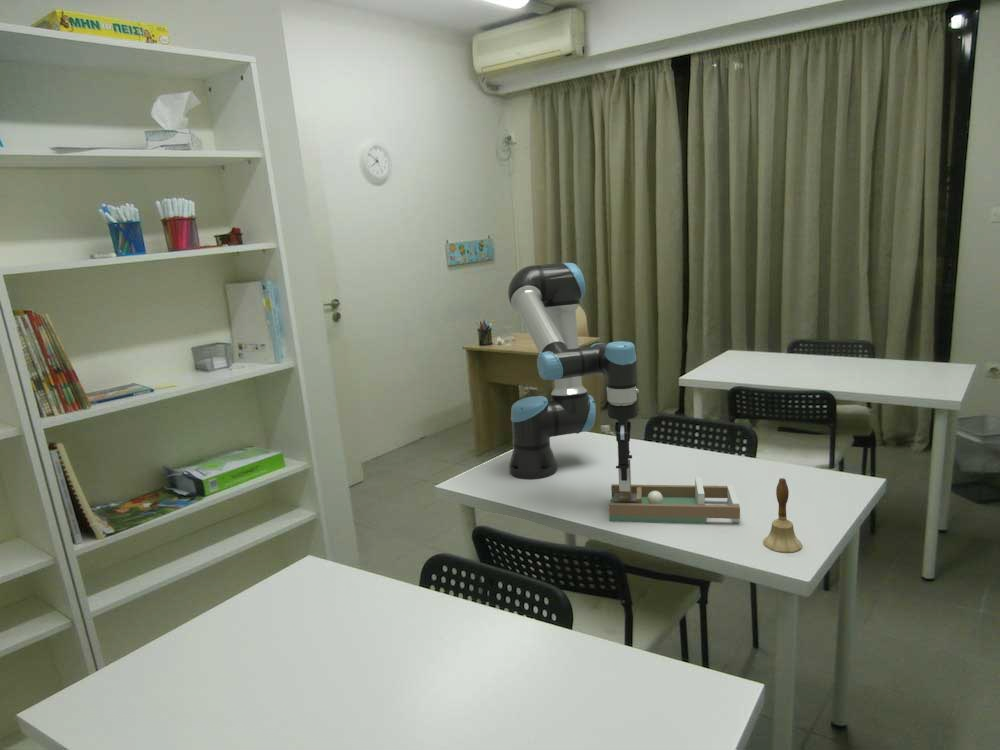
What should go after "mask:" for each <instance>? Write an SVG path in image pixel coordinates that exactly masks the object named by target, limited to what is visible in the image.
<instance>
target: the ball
mask: <svg viewBox="0 0 1000 750" xmlns="http://www.w3.org/2000/svg"><path fill="white" fill-rule="evenodd" d="M647 500H648V502H649V504H661V503H662V501H663V496H662V494H661V493H660V492H658V491H652V492H650V493H649V494H648V497H647Z"/></svg>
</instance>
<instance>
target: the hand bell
mask: <svg viewBox="0 0 1000 750" xmlns="http://www.w3.org/2000/svg"><path fill="white" fill-rule="evenodd" d="M775 491H776V493H775V494H776V496H775V497H776V501H777V503H778V518H777V519H773V520H772V521H771V522H772V523H771V528H770V532H769V534H768V535H767V536H766V537H765V538H763V541H762V543H763V546H764V547H766V548H767V549H769V550H771V551H774V552H778V553H786V554H787V553H790V554H791V553H796V552H799V551H801V550H802V548H803V543H802V541H800V540H799V539H798V537H797V536H796V533H795V531H794V530H795V529H794V524H793V522H792V521H790V520H788V519H787V503H788V500H789V492H790V491H789V486H788V484H787V480H786V478H785V477H783V478H782V477H781V478H779V480H778V483H777V486H776V489H775Z"/></svg>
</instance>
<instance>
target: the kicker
mask: <svg viewBox="0 0 1000 750" xmlns="http://www.w3.org/2000/svg"><path fill="white" fill-rule="evenodd" d="M628 462H629V473H630V491H619V493H614V503H635V504H642V487H637V493H631V485H632V474H631V473H632V472H631V470H632V469H631V459H628ZM618 465H619V463H618ZM618 465H617V466H618ZM617 469H618V472H619V468H617Z"/></svg>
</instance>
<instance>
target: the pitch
mask: <svg viewBox="0 0 1000 750" xmlns="http://www.w3.org/2000/svg"><path fill="white" fill-rule="evenodd" d="M637 487H642V504H635V503H614V493H619V483H617V484H616V483H613V484H611V487H610V488H611V499H610V502H609V503H608V518H609V520H608V521H609V522H624V523H625V522H626V523H627V522H629V523H631V522H632V523H635V522H636V523H667V524H668V523H669V524H675V523H676V524H702V525H703V524H704V525H705V524H707V519H726V520H727V519H728V520H729V519H730V520H732V523H740V519H741V507H740V502H739V499H738V495H737V492H736V490H735V486H734V485H703V480H702V476H695V477H694V485H691V484H690V485H688V484H686V485H683V484H679V485H678V484H631V493H637ZM652 491H658V492H660V493H661V494H662V496H663V501H662V503H661V504H649V502H648V500H647V497H648V494H649V493H650V492H652ZM705 499H726V500H727V505H726V504H722V505H721V504H705V503H706V502H705Z"/></svg>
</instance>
